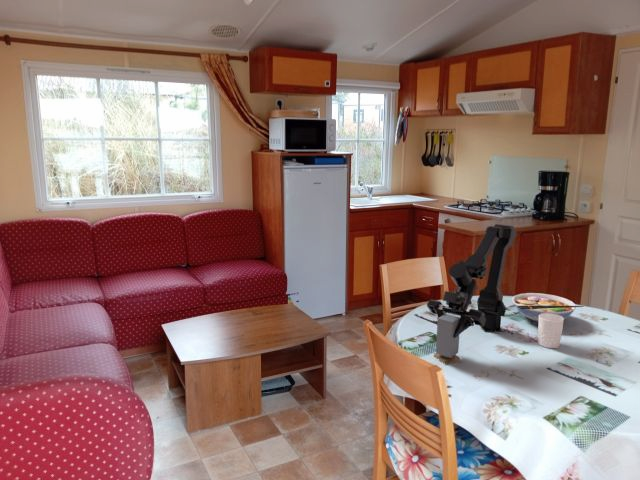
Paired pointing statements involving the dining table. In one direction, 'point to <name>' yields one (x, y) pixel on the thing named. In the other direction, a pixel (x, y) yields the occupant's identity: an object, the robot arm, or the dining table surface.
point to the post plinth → (446, 358)
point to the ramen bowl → (543, 305)
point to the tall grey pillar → (447, 335)
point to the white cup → (550, 330)
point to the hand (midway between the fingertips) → (446, 335)
